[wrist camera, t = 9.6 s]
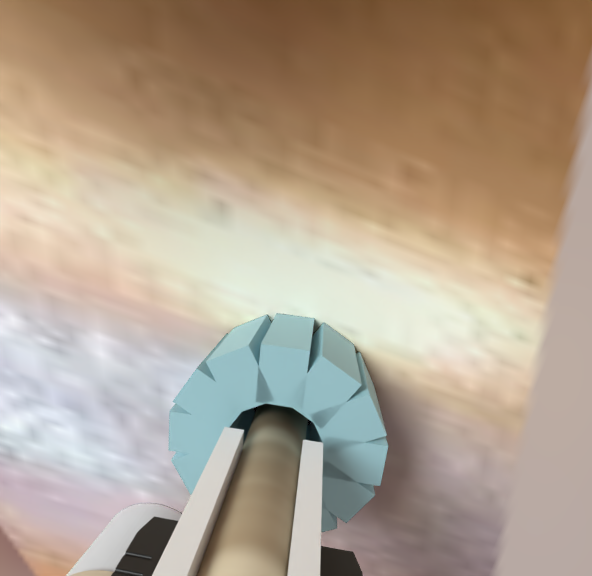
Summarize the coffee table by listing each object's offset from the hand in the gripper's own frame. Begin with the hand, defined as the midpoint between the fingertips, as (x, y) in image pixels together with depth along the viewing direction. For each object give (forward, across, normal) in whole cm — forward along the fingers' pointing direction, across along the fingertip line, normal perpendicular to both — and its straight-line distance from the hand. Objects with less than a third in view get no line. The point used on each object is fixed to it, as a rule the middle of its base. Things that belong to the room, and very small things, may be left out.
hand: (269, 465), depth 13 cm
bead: (+5, 0, 0) cm, 5 cm away
